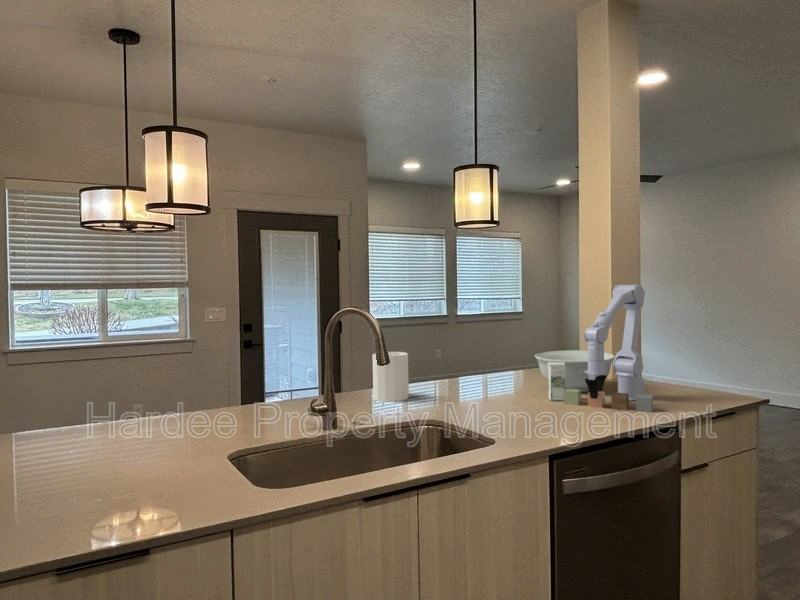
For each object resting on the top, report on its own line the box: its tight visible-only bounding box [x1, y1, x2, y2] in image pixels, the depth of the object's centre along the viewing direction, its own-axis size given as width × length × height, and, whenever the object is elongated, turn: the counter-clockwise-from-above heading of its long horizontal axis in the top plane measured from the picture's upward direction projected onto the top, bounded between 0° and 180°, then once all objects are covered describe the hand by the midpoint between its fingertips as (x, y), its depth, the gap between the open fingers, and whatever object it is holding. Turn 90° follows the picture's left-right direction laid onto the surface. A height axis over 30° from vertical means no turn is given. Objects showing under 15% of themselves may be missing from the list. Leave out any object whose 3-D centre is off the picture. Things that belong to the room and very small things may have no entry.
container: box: [371, 351, 410, 403], centre depth 228 cm, size 14×14×18 cm
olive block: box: [563, 389, 582, 406], centre depth 210 cm, size 5×5×5 cm
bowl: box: [534, 349, 616, 393], centre depth 238 cm, size 32×32×15 cm
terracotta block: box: [587, 391, 606, 408], centre depth 206 cm, size 5×5×5 cm
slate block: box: [635, 394, 654, 413], centre depth 198 cm, size 5×5×5 cm
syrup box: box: [547, 362, 566, 402], centre depth 217 cm, size 6×6×14 cm
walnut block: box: [610, 391, 630, 411], centre depth 202 cm, size 5×5×5 cm
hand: (596, 396), depth 206 cm, fingers open, 7 cm apart
